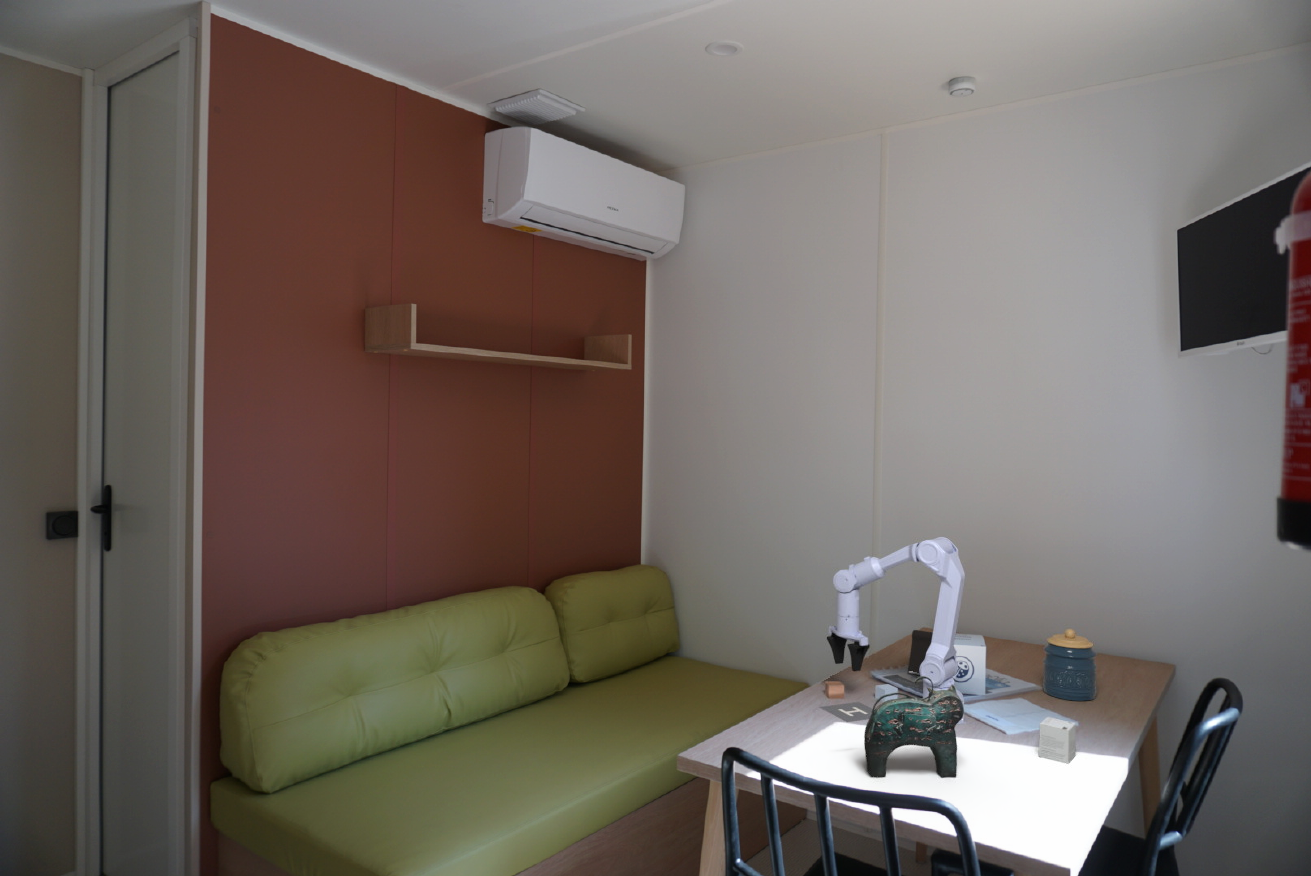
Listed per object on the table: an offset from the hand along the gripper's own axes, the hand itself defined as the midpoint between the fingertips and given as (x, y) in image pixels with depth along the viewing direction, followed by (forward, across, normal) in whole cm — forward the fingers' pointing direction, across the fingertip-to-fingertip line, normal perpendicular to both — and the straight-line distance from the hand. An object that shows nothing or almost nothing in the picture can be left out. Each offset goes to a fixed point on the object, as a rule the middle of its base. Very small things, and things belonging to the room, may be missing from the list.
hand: (847, 667), depth 220 cm
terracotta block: (+9, +2, +3) cm, 9 cm away
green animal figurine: (+9, -46, +17) cm, 50 cm away
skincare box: (+9, -49, -19) cm, 54 cm away
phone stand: (+9, +14, -36) cm, 40 cm away
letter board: (+8, -10, +6) cm, 14 cm away
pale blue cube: (+9, -5, -8) cm, 13 cm away
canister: (+9, -18, -59) cm, 62 cm away
